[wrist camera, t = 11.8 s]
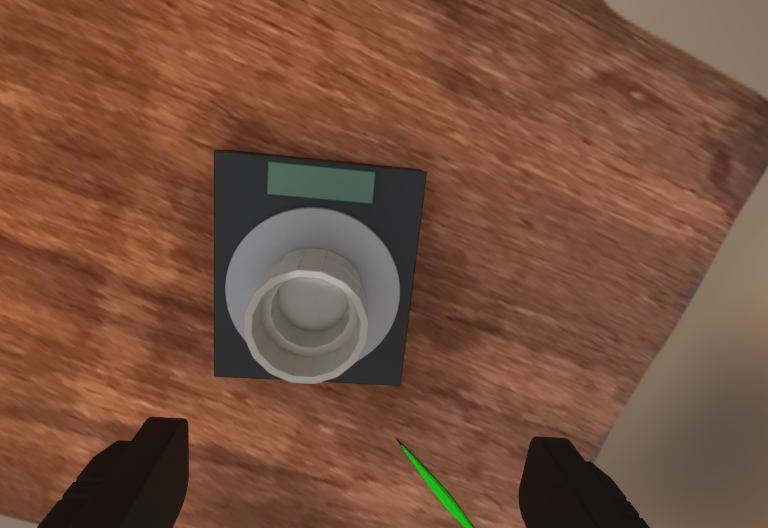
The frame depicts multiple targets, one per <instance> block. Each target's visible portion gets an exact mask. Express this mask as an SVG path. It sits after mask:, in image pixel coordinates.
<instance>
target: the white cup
mask: <svg viewBox="0 0 768 528" xmlns="http://www.w3.org/2000/svg"><path fill="white" fill-rule="evenodd" d="M367 332H368V313H367V305H366V296H365V289H364V286H363V283H362V280H361V277H360V275H359V273H358V272H357V271H356V270H355V268H354V267H353V266H352V265H351V264H350V263H349V262H348V260H346V259H345V258H343V257H341V256H339V255H337V254H335V253H333V252H331V251H329V250H326V249H314V248H304V249H301V250H298V251H295V252H291V253H288V254H287V255H285V256H283V257H282V258H281V259H280V260H279V261H277V262H276V263H275V264H274V265H273V266H272V267H271V268H270V269H269V271H268V272H267V274H266V275H265V277H264V278H263V280H262V282H261V283H260V285H259V286H258V288H257V289H256V291H255V293H254V294H253V296H252V298H251V300H250V303H249V305H248V307H247V309H246V311H245V314H244V338H245V340H246V343H247V345H248V347H249V350H250V352H251V354H252V356H253V358H254V359H255V360H256V361H257V362H258V363H259V364H260V365H261V366H262V367H263V368H264V369H265V370H267V371H268V372H269V373H270V374H272V375H274V376H277V377H279V378H281V379H284V380H286V381H289V382H292V383H307V384H316V383H320V382H323V381H326V380H329V379H333V378H336V377H338V376H339V375H341V374H342V373H343V372H344V371H346V370H347V369H348V368H350V367H351V366H352V365H353V364H355V362H356V361H357V359H358V357H359V356H360V354H361V352H362V350H363V349H364V347H365V345H366V343H367Z"/></svg>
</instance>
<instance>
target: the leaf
mask: <svg viewBox="0 0 768 528" xmlns="http://www.w3.org/2000/svg"><path fill="white" fill-rule="evenodd" d="M397 441H398V440H397ZM398 442H399V441H398ZM399 444H400V445H401V447H402V448H403V450H404V451H405V452H406V454H407V455H408V457H409V458H410V460H411V461H412V463H413V464H414V465H415V467H416V468H417V470H418V471H419V473H420V474H421V475H422V477H423V478H424V480H425V481H426V482H427V484H428V485H429V487H430V488H431V489H432V491H433V492H434V493H435V495H436V496H437V497H438V499H439V500H440V501H441V502H442V504H443V505H444V506H445V507H446V508H447V509H448V510H449V512H450V513H451V514H452V515H453V516H454V517H455V518H456V519H457V520H458V521H459V522H460V523H461V524H462V525H463V526H464V527H465V528H473V527H472V525H471V524H470V522H469V521H468V519H467V518H466V517H465V515H464V514H463V512H462V511H461V509H460V508H459V507H458V505H457V504H456V503H455V501H454V500H453V499H452V497H451V496H450V495H449V494H448V493H447V492H446V490H445V489H444V488H443V487H442V486H441V485H440V484H439V482H438V481H437V480H436V479H435V478H434V477H433V476H432V475H431V474H430V473H429V472H428V471H427V470H426V469H425V468H424V467H423V466H422V464H421V463H420V462H419V461H418V460H417V459H416V458H415V457H414V456H413V455H412V454H411V453H410V452H409V451H408V450H407V449H406V448H405V447H404V446H403V445H402V444H401V443H400V442H399Z"/></svg>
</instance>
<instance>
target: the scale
mask: <svg viewBox="0 0 768 528" xmlns="http://www.w3.org/2000/svg"><path fill="white" fill-rule="evenodd" d="M426 175H427V172H426V171H423V170H420V169H412V168H402V167H392V166H382V165H372V164H362V163H352V162H342V161H332V160H322V159H313V158H303V157H293V156H283V155H273V154H263V153H253V152H243V151H233V150H215V151H214V376H216V377H236V378H256V379H276V380H284V379H281V378H279V377H277V376H274V375H272V374H270V373H269V372H268V371H267V370H265V369H264V368H263V367H262V366H261V365H260V364H259V363H258V362H257V361H256V360H255V359H254V358H253V356H252V354H251V352H250V350H249V347H248V345H247V343H246V340H245V338H244V314H245V311H246V309H247V307H248V305H249V303H250V300H251V298H252V296H253V294H254V293H255V291H256V289H257V288H258V286H259V285H260V283H261V282H262V280H263V278H264V277H265V275H266V274H267V272H268V271H269V269H270V268H271V267H272V266H273V265H274V264H275V263H276V262H277V261H279V260H280V259H281V258H282V257H283V256H285V255H287V254H288V253H291V252H295V251H298V250H301V249H304V248H314V249H326V250H329V251H331V252H333V253H335V254H337V255H339V256H341V257H343V258H345V259H346V260H348V262H349V263H350V264H351V265H352V266H353V267H354V268H355V270H356V271H357V272H358V273H359V275H360V277H361V280H362V283H363V286H364V289H365V296H366V305H367V313H368V332H367V343H366V345H365V347H364V349H363V350H362V352H361V354H360V356H359V357H358V359H357V361H356V362H355V364H353V365H352V366H351V367H350V368H348V369H347V370H346V371H344V372H343V373H342V374H341V375H339V376H338V377H336V378H333V379H329V380H326V381H323V382H336V383H356V384H376V385H396V386H400V384H401V376H402V368H403V360H404V352H405V344H406V335H407V327H408V319H409V311H410V303H411V295H412V287H413V279H414V271H415V263H416V255H417V247H418V239H419V231H420V223H421V215H422V207H423V199H424V191H425V183H426Z"/></svg>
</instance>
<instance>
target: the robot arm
mask: <svg viewBox="0 0 768 528" xmlns="http://www.w3.org/2000/svg"><path fill="white" fill-rule="evenodd" d="M188 478H189V447H188V422H187V420H186V419H183V418H162V417H150V418H148V419H147V420H146V421H145V423H144V424H143V425H142V427H141V428H140V429H139V431H138V432H137V434H136V435H135V436H134V438H133V439H132V441H119V440H118V441H116V442H115V443H113V444H112V445H110V446H109V447H108V448H106V449H105V450H103V451H102V452H100V453H99V454H97V455H96V456H95V457H93V459H92V460H91V461H90V462H89V463H88V465H87V466H86V467H85V468H84V470H83V471H82V472H81V473H80V475H79V476H78V477H77V480H76V482H73V483H72V485H71V486H70V487H69V488H68V490H67V491H66V492H65V493H64V495H63V498H62V500H59V501H58V502H57V503H56V505H55V506H54V507H53V508H52V510H51V511H50V512H49V513H48V515H47V516H46V517H45V518H44V520H43V521H42V522H41V523H40V524H39V526H38V527H37V528H173V526H174V523H175V521H176V519H177V517H178V515H179V512H180V510H181V508H182V505H183V503H184V499H185V496H186V491H187V486H188ZM519 506H520V511H521V515H522V518H523V520H524V522H525V525H526V527H527V528H649V526H648V525H647V524H646V522H645V521H644V520H643V519H642V518H639V513H638V512H637V511H636V510H635V508H634V507H633V506H632V505H631V503H630V502H627V500H626V497H625V495H624V494H623V493H622V491H621V490H620V489H619V488H618V486H617V485H616V484H615V483H614V481H613V480H612V479H611V478H610V477H609V476H608V475H606V474H605V473H604V472H603V471H601V470H600V469H599V468H598V467H596V466H595V465H594V464H593V463H591V462H586V461H584V459H583V458H582V456H581V455H580V454H579V452H578V451H577V450H576V448H575V447H574V446H573V444H572V443H571V442H570V441H569V440H568V439H566V438H555V437H534V438H533V439H532V440H531V442H530V445H529V449H528V454H527V458H526V462H525V466H524V471H523V475H522V479H521V483H520V488H519Z"/></svg>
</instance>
